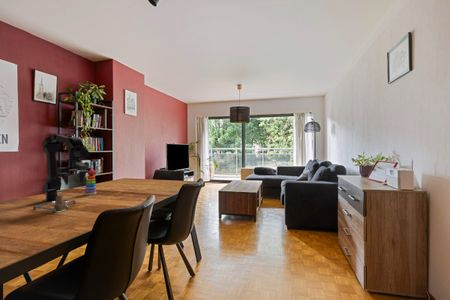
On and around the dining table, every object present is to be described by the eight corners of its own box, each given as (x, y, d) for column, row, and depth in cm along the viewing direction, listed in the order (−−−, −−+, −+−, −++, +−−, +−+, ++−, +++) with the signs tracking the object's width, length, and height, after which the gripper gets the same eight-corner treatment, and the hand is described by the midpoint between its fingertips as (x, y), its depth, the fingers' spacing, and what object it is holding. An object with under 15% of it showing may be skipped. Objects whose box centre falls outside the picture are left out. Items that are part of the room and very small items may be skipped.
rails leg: (33, 209, 133) (33, 205, 133) (48, 206, 141) (48, 202, 141) (53, 213, 127) (53, 208, 127) (68, 209, 135) (68, 205, 135)
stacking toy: (91, 195, 172) (91, 169, 172) (81, 195, 174) (81, 169, 173) (99, 193, 180) (99, 168, 180) (89, 193, 181) (89, 168, 181)
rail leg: (32, 209, 134) (32, 205, 134) (67, 202, 152) (67, 198, 152) (42, 211, 131) (42, 207, 131) (76, 203, 149) (76, 199, 149)
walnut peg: (54, 210, 131) (54, 196, 131) (60, 209, 134) (60, 195, 134) (58, 211, 130) (58, 196, 130) (64, 210, 133) (64, 195, 132)
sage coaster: (51, 211, 130) (51, 211, 130) (60, 209, 135) (60, 208, 135) (57, 212, 128) (57, 212, 128) (67, 210, 133) (67, 209, 133)
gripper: (68, 159, 134) (68, 186, 134) (97, 157, 151) (97, 182, 152) (55, 158, 138) (55, 185, 138) (84, 157, 155) (84, 181, 156)
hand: (74, 183), depth 146 cm, fingers open, 9 cm apart
